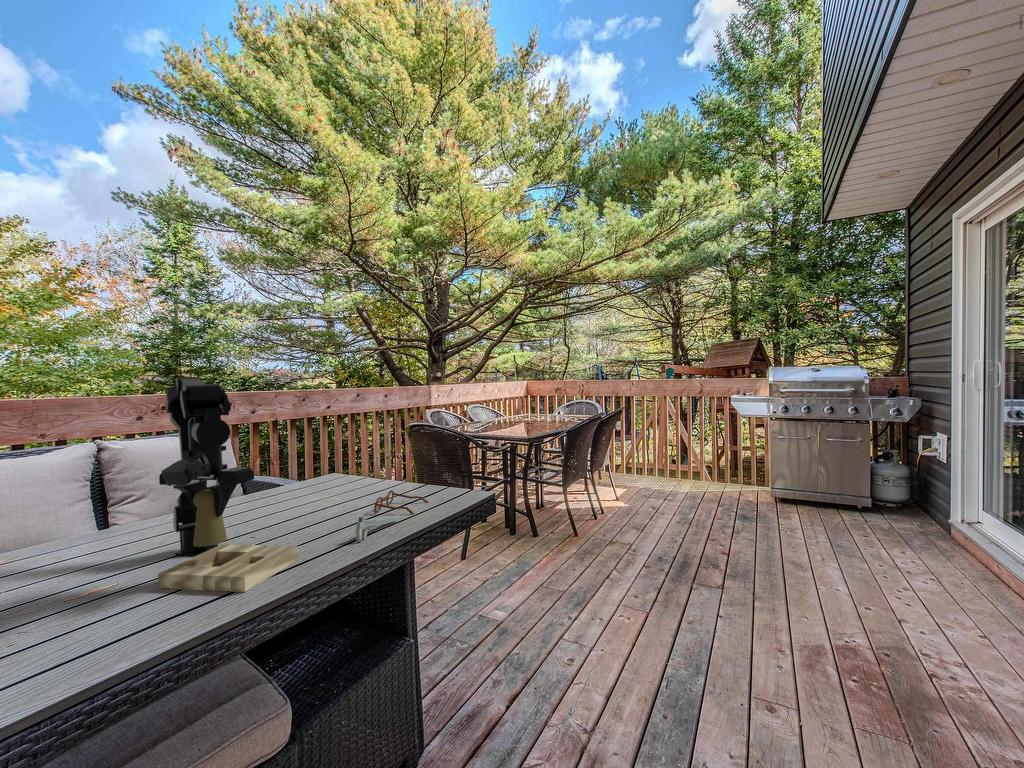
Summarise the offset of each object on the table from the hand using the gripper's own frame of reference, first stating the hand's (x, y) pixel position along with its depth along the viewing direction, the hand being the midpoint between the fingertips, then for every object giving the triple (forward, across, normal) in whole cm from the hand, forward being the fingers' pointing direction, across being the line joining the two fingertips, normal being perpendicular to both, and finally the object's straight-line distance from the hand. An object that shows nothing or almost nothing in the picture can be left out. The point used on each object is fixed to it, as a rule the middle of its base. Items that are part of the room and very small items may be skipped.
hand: (209, 515), depth 97 cm
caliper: (+13, +23, +31) cm, 41 cm away
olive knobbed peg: (+6, 0, 0) cm, 6 cm away
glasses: (+14, +20, +51) cm, 56 cm away
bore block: (+13, +4, +1) cm, 13 cm away
